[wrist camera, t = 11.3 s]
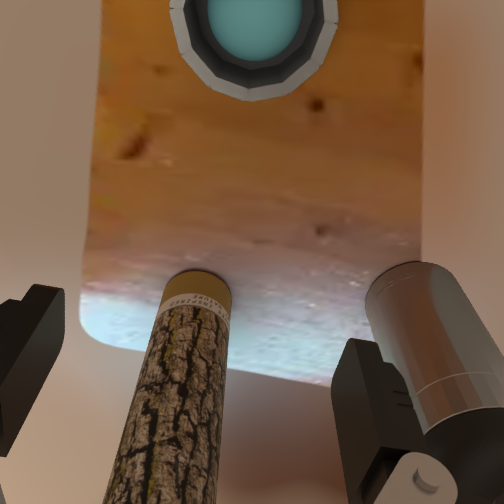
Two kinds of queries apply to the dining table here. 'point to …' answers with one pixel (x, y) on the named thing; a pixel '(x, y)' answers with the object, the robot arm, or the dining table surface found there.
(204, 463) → the bark textured cylinder
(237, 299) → the dining table surface
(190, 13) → the grey ribbed round container
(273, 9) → the ball
